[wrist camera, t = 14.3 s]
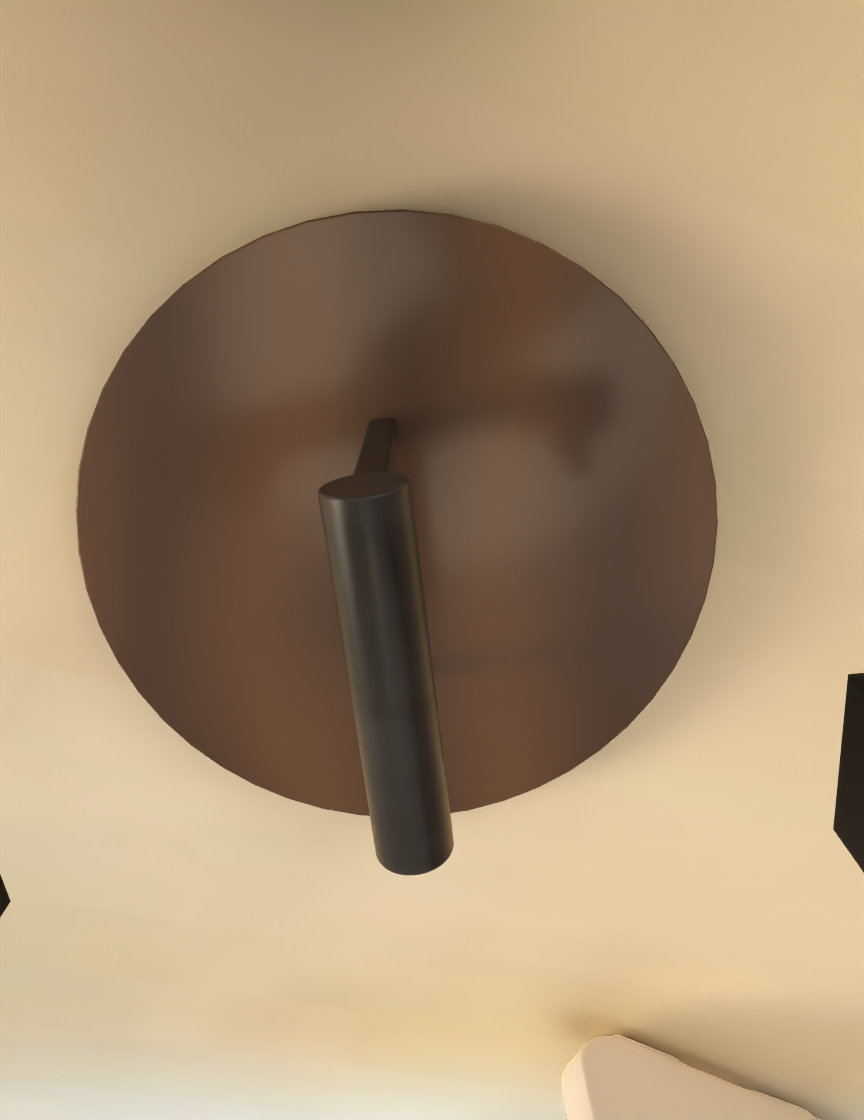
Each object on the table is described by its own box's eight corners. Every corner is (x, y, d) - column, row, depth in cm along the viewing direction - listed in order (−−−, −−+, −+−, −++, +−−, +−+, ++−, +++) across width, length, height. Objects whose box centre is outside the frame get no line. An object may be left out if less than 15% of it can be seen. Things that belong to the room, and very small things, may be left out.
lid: (708, 174, 20) (927, 108, 11) (699, 765, 26) (835, 1009, 17) (14, 253, 20) (-278, 247, 12) (168, 818, 26) (51, 1081, 18)
